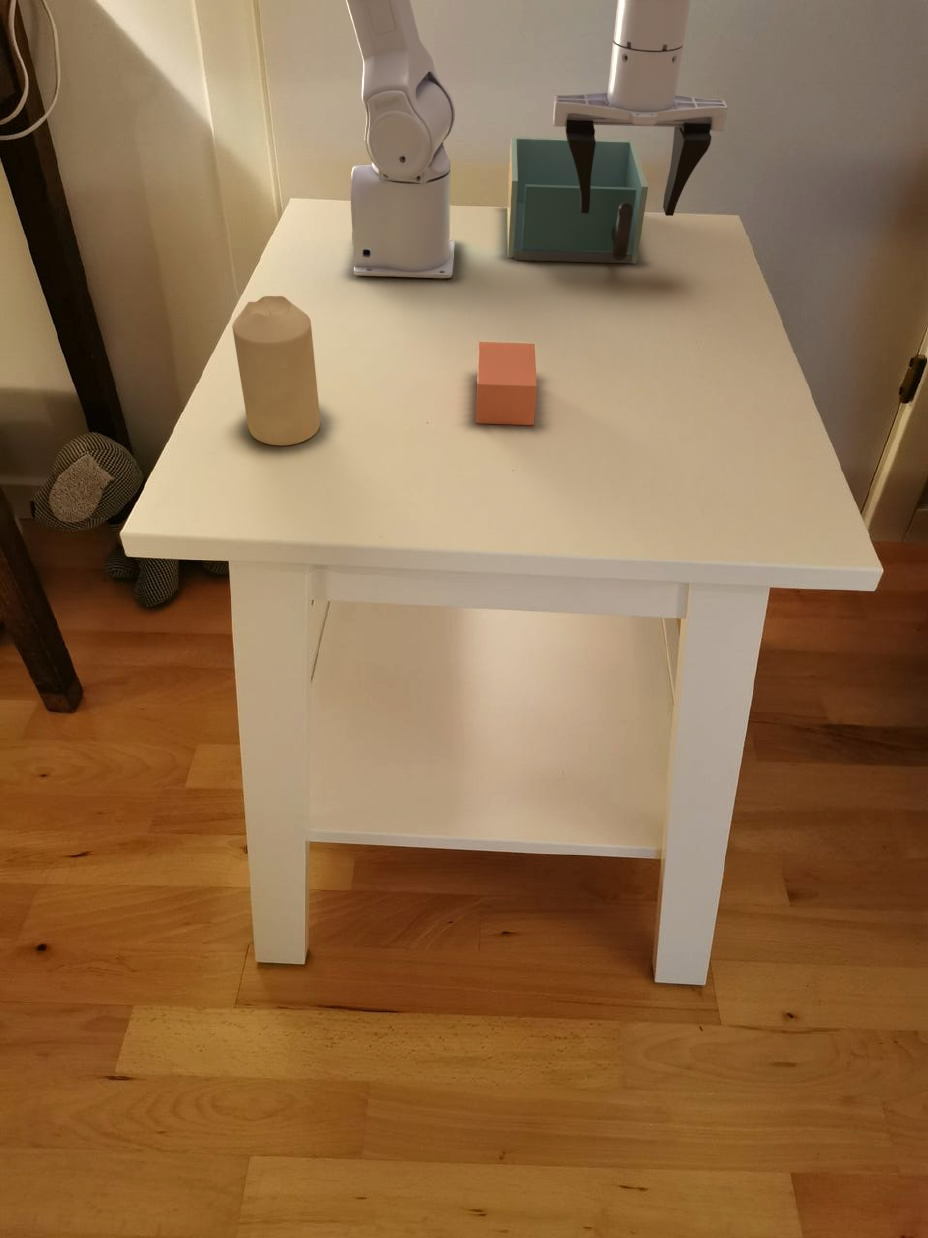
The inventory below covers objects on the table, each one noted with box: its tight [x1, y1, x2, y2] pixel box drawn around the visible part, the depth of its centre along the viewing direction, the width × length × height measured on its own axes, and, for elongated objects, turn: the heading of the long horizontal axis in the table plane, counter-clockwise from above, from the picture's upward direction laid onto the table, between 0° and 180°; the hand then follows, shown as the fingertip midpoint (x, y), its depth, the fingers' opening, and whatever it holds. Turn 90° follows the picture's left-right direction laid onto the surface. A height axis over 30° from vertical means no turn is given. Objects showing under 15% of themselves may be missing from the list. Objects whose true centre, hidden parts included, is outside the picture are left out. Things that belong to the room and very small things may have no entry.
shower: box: [506, 136, 649, 265], centre depth 99 cm, size 13×13×8 cm
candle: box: [231, 295, 321, 446], centre depth 71 cm, size 6×6×10 cm
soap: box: [475, 341, 538, 426], centre depth 77 cm, size 4×6×4 cm
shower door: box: [522, 184, 637, 261], centre depth 92 cm, size 10×6×6 cm, turn 88°
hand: (626, 210), depth 89 cm, fingers open, 7 cm apart
